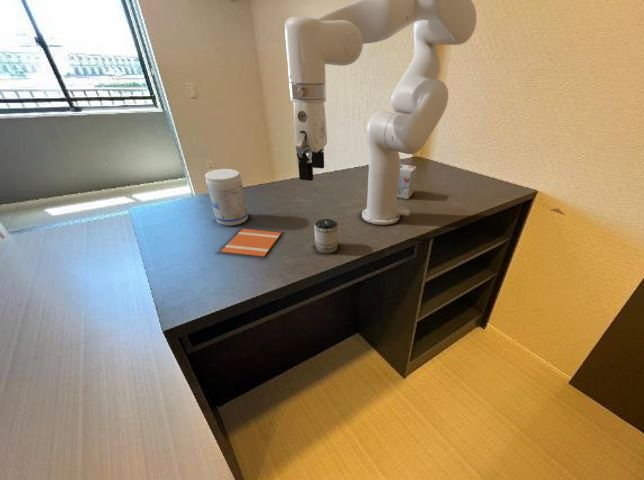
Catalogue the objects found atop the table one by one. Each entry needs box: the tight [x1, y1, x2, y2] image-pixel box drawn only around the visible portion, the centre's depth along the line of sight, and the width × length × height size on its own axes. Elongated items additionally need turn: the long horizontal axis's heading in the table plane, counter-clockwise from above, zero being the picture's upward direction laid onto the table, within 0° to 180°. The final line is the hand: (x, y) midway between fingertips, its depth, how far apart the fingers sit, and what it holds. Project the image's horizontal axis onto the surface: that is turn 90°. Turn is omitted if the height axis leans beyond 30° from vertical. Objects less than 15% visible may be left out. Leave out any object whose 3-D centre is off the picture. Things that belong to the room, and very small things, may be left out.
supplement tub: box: [204, 168, 249, 227], centre depth 90 cm, size 10×10×15 cm
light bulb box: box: [397, 163, 417, 200], centre depth 114 cm, size 11×7×11 cm, turn 68°
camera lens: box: [313, 218, 339, 254], centre depth 80 cm, size 6×6×8 cm
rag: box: [220, 228, 283, 258], centre depth 84 cm, size 12×13×1 cm
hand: (312, 173), depth 73 cm, fingers open, 9 cm apart
